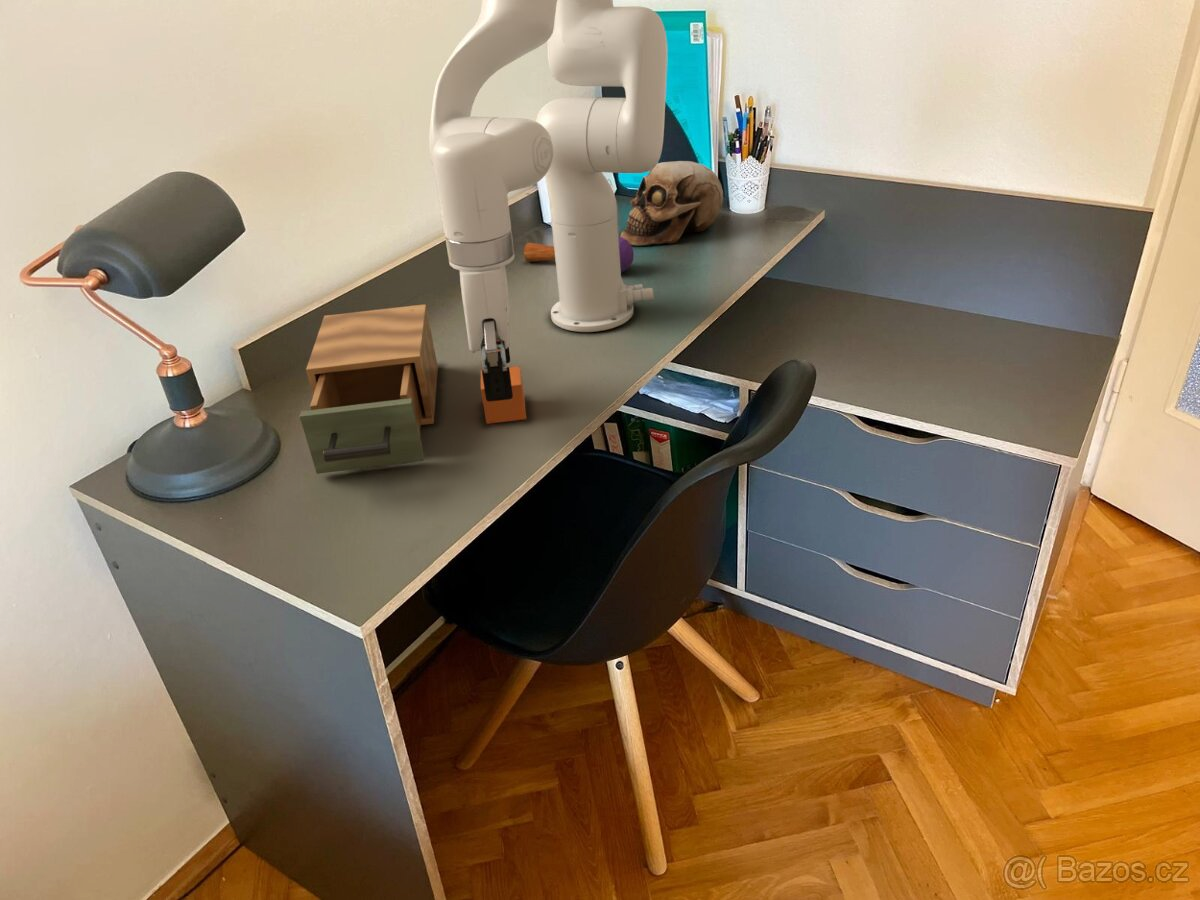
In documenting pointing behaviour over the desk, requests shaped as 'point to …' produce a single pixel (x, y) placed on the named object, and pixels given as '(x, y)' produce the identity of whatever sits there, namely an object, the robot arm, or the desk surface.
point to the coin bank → (673, 203)
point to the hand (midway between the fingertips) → (498, 380)
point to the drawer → (365, 418)
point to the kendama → (547, 253)
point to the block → (506, 401)
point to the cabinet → (378, 347)
